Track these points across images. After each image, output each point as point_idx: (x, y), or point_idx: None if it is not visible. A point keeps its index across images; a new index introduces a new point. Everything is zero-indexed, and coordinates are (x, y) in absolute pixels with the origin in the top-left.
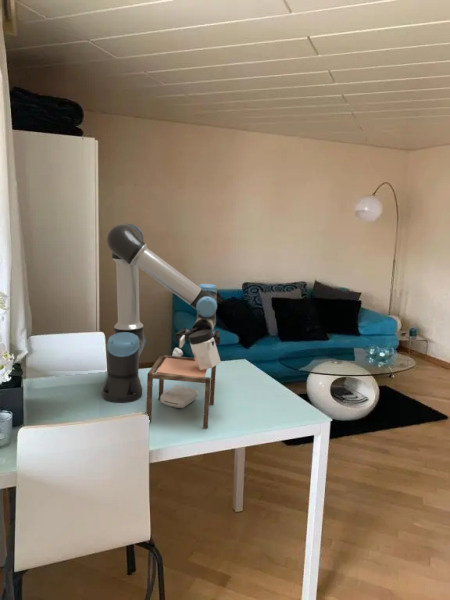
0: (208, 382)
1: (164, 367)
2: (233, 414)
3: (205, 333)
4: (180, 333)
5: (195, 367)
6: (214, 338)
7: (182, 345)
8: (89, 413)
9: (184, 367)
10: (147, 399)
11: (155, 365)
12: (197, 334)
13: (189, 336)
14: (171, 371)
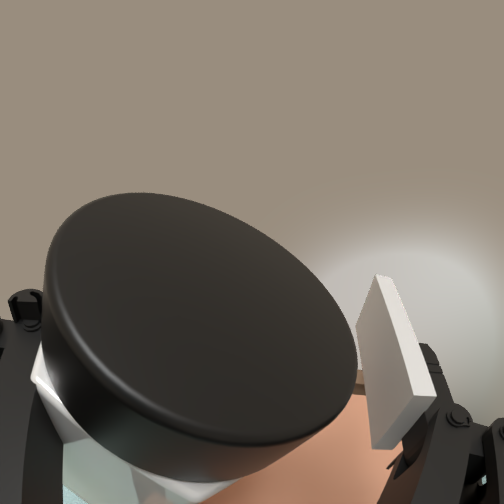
0: None
1: (397, 455)
2: (65, 501)
3: (174, 198)
4: (493, 490)
5: (215, 496)
6: (32, 318)
7: (362, 346)
8: (482, 482)
9: (290, 487)
10: None
11: None
12: (252, 271)
13: (342, 320)
14: (350, 417)
